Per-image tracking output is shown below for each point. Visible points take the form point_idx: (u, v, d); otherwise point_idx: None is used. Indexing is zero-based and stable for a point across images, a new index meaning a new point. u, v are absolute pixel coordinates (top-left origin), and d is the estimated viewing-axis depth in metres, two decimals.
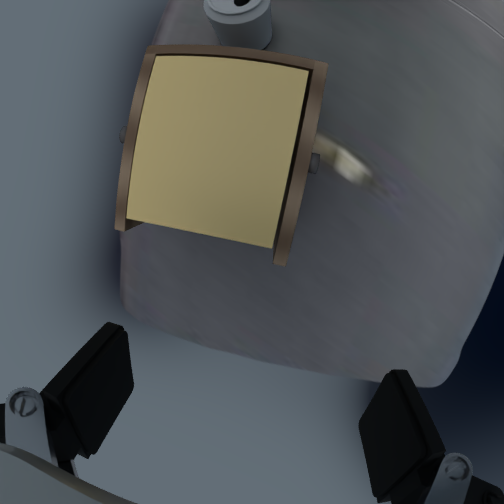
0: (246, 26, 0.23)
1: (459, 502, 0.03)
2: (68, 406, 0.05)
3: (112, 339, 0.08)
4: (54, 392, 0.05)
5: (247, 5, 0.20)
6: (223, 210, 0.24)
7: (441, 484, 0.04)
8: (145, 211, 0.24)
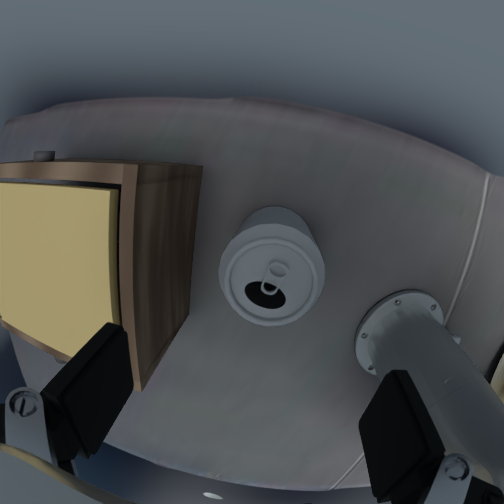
0: None
1: (459, 502, 0.03)
2: (68, 406, 0.05)
3: (112, 339, 0.08)
4: (54, 392, 0.05)
5: (246, 301, 0.19)
6: (4, 284, 0.18)
7: (441, 484, 0.04)
8: None
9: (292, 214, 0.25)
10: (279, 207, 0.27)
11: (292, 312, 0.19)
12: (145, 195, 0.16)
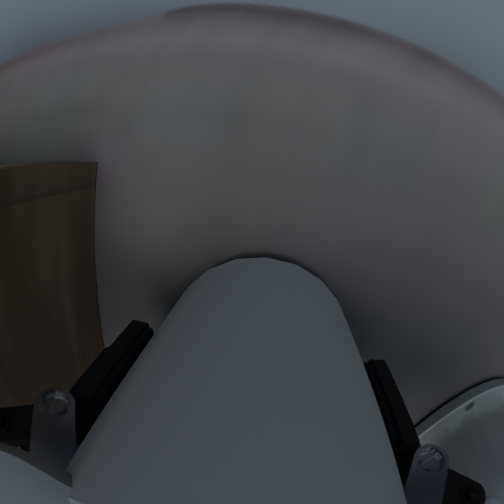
0: None
1: (432, 494, 0.03)
2: (101, 404, 0.05)
3: (140, 336, 0.08)
4: (87, 390, 0.05)
5: None
6: None
7: (417, 477, 0.04)
8: None
9: (308, 299, 0.08)
10: (270, 264, 0.10)
11: None
12: None
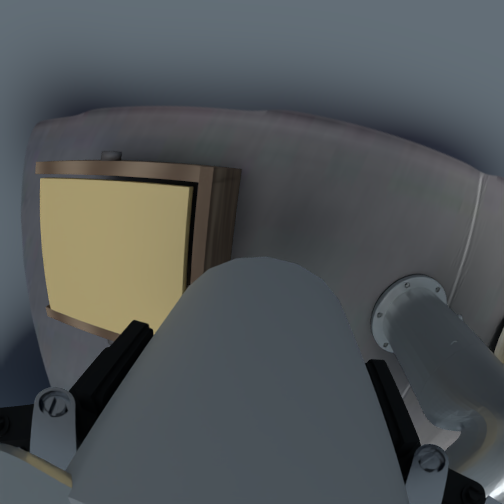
0: None
1: (432, 494, 0.03)
2: (101, 404, 0.05)
3: (140, 336, 0.08)
4: (87, 391, 0.05)
5: None
6: (59, 273, 0.23)
7: (416, 477, 0.04)
8: (45, 199, 0.21)
9: (309, 298, 0.08)
10: (271, 263, 0.10)
11: None
12: (215, 192, 0.21)
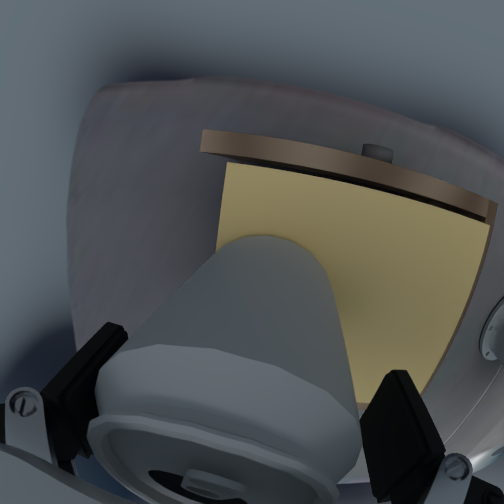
0: None
1: (459, 502, 0.03)
2: (68, 406, 0.05)
3: (112, 339, 0.08)
4: (54, 392, 0.05)
5: (160, 487, 0.06)
6: None
7: (441, 484, 0.04)
8: (239, 202, 0.14)
9: (295, 260, 0.11)
10: (271, 239, 0.13)
11: None
12: None
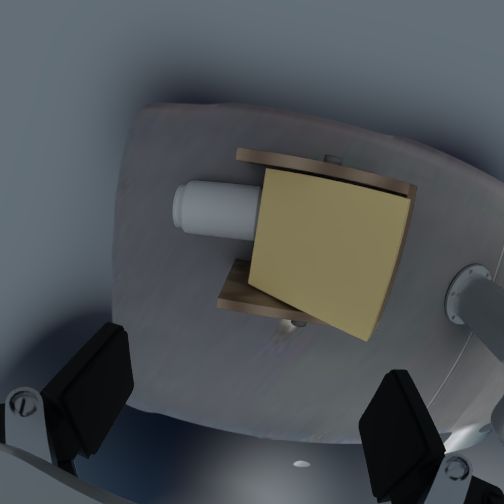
0: None
1: (459, 502, 0.03)
2: (68, 406, 0.05)
3: (112, 339, 0.08)
4: (54, 392, 0.05)
5: None
6: (269, 253, 0.32)
7: (441, 484, 0.04)
8: (269, 186, 0.30)
9: (239, 185, 0.36)
10: None
11: (178, 221, 0.37)
12: None
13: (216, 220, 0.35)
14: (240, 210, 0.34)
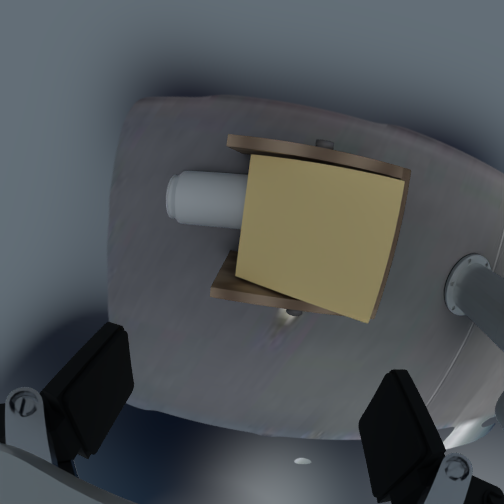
0: None
1: (459, 502, 0.03)
2: (68, 406, 0.05)
3: (112, 339, 0.08)
4: (54, 392, 0.05)
5: None
6: (258, 242, 0.30)
7: (441, 484, 0.04)
8: (256, 173, 0.29)
9: (232, 174, 0.36)
10: None
11: (171, 211, 0.37)
12: None
13: (209, 208, 0.34)
14: (233, 197, 0.34)
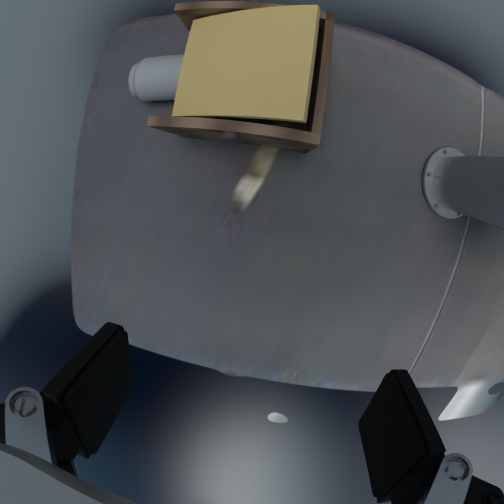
0: None
1: (459, 502, 0.03)
2: (68, 406, 0.05)
3: (112, 339, 0.08)
4: (54, 392, 0.05)
5: None
6: (193, 78, 0.27)
7: (441, 484, 0.04)
8: (195, 30, 0.26)
9: None
10: None
11: (132, 87, 0.34)
12: None
13: (163, 74, 0.31)
14: None
